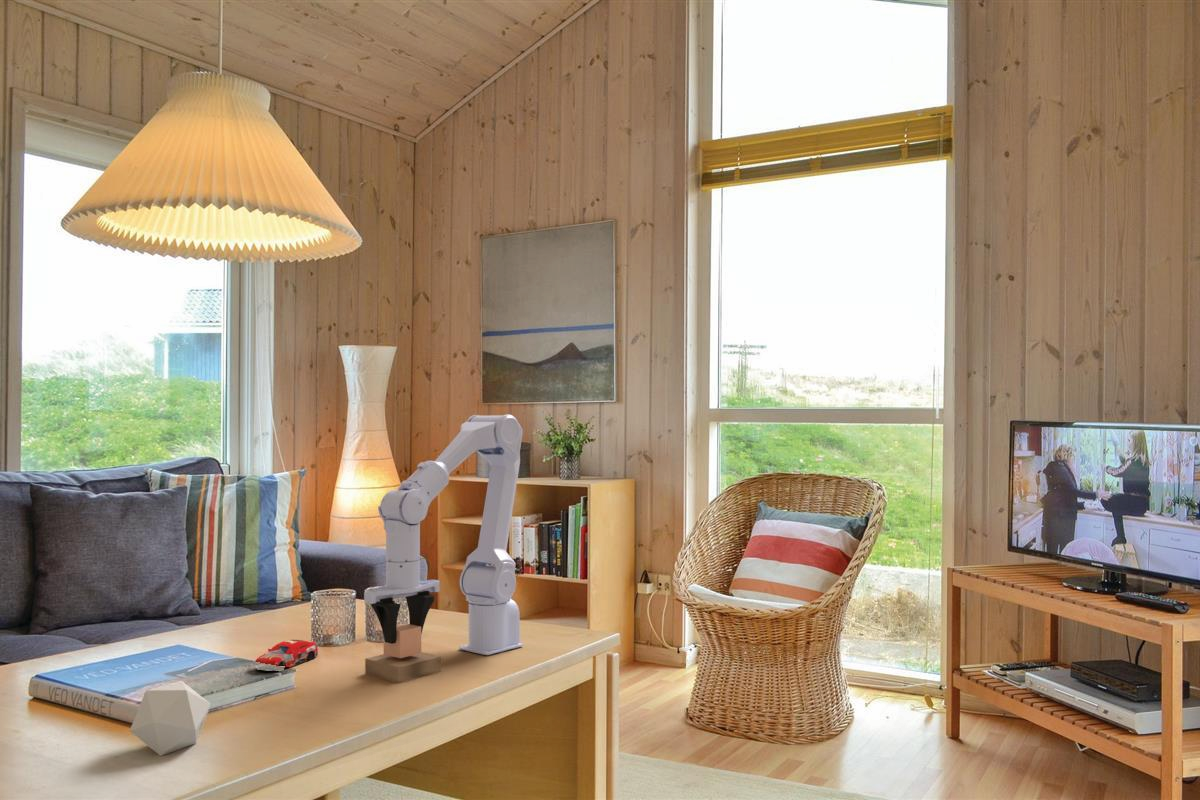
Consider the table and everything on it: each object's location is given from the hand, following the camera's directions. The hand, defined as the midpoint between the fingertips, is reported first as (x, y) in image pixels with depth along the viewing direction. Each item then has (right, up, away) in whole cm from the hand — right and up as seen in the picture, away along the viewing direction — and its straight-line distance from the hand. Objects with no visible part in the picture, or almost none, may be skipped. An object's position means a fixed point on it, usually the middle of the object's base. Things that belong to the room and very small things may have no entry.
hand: (403, 639), depth 160 cm
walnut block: (0, -6, 0) cm, 6 cm away
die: (-23, -5, -36) cm, 43 cm away
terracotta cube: (0, -2, 0) cm, 2 cm away
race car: (-22, -6, +6) cm, 24 cm away
